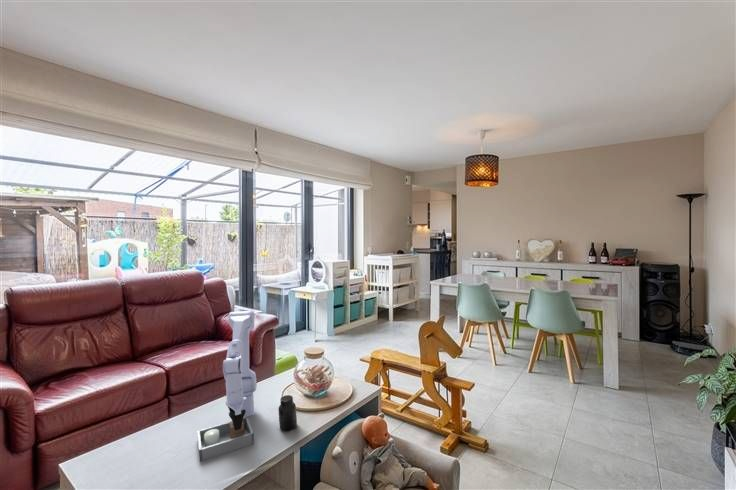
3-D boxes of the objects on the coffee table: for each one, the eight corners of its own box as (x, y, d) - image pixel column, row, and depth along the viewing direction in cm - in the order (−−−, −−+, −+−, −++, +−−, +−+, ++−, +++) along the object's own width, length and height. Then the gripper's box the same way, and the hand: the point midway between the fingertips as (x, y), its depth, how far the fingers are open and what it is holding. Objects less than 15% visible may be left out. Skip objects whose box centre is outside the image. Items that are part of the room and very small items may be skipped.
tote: (197, 442, 128) (197, 430, 128) (247, 427, 137) (247, 416, 137) (199, 463, 117) (199, 450, 116) (254, 445, 125) (253, 433, 125)
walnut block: (230, 437, 130) (229, 421, 129) (242, 433, 132) (241, 418, 131) (231, 443, 126) (230, 427, 125) (244, 439, 128) (243, 424, 128)
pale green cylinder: (204, 444, 125) (203, 431, 125) (219, 440, 128) (218, 427, 128) (205, 452, 121) (204, 439, 121) (220, 447, 124) (219, 434, 123)
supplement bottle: (291, 420, 141) (289, 391, 140) (300, 426, 136) (299, 397, 135) (276, 427, 136) (274, 398, 135) (285, 434, 131) (283, 404, 131)
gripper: (249, 394, 123) (251, 430, 124) (242, 378, 136) (244, 411, 137) (228, 399, 120) (230, 437, 121) (223, 383, 132) (225, 417, 133)
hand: (236, 424), depth 128 cm, fingers open, 7 cm apart
